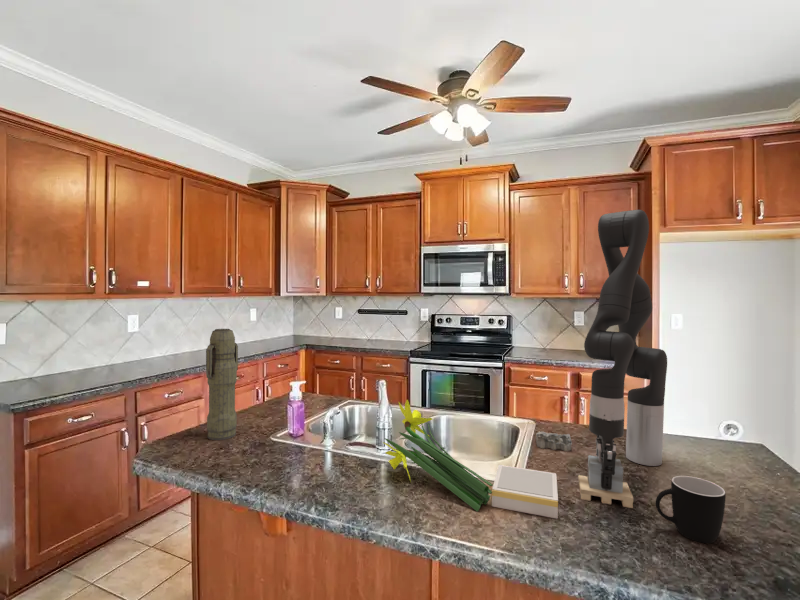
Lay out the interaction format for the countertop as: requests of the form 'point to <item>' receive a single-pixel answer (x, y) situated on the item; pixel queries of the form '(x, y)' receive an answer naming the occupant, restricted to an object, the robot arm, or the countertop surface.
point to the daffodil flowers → (438, 462)
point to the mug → (695, 507)
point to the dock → (525, 491)
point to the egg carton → (553, 441)
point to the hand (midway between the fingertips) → (604, 483)
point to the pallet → (605, 494)
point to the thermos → (222, 384)
